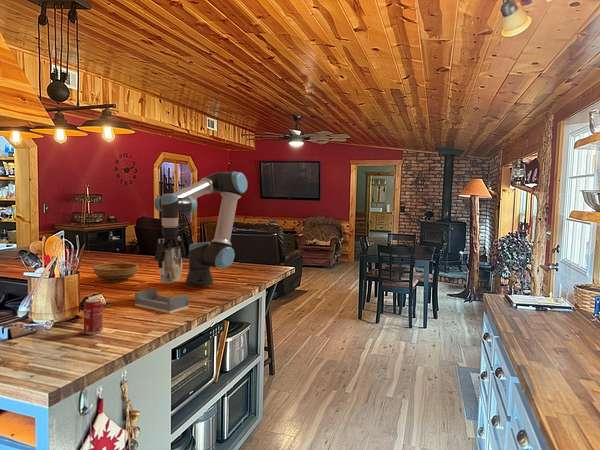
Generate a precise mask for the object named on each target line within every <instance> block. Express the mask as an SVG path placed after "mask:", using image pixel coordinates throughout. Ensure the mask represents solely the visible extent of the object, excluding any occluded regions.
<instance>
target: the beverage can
mask: <svg viewBox="0 0 600 450" xmlns="http://www.w3.org/2000/svg"><path fill="white" fill-rule="evenodd" d="M103 329H104V303H103V301H102V300H101V298H88V299H85V302H84V304H83V332H85V333H86V334H87V335H96V334H100V333H101V331H103Z"/></svg>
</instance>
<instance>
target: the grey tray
mask: <svg viewBox="0 0 600 450" xmlns="http://www.w3.org/2000/svg"><path fill="white" fill-rule="evenodd" d="M189 296H190V295H189V294H188V293H187V294H186V293H185V294H183V295H182V294H181V295H179V296H175V297H173V296H168V295H163V294H158V291H157V287H156V288H155V287H153V288H149V289H144V290H140V291H136V292H134V306H135V307H140V308H144V309H148V310H149V309H150V310H153V311H158V312H162V313H166V314H173V313H176V312H179V311H180V312H181V311H183V310H187V309H189V306H190V302H189V301H190V300H189V298H190V297H189Z"/></svg>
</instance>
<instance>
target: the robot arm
mask: <svg viewBox="0 0 600 450" xmlns="http://www.w3.org/2000/svg"><path fill="white" fill-rule="evenodd" d="M247 190H248V180H247V177H246V176H245V174H244V173H242V172H241V171H239V172H238V171H219V172H214V173H211V174H209V175H206V176H204V177H202V178H200V180H199V181H197V182H195V183H193V184H191V185H188V186H186V187H185V188H182V189H180V190H178V191H174V192H173V193H163V194H162V195H161V196H158V197H155V199H154V203H153V207H154V209H155V210H156V211H158V212H161V226H162V227H161V235H162V238H157V240H156V242H157V244H156V249H155V254H154V261H157V263H158V264H157V265H158V269H159V271H158V272H159V273H158V274H159V275H160V276H161V275H165V265H164V261H163V259H164V257H165V250H164V251H162V248H164V249H167V248H169V247H170V246H175V247H178V246H181V272H183V262H184V258H185V256H186V255H187V251H186V249H185V244H184V240H183V238H184V237H183V236H181V235H179V234H180V233H179V227H178V226H179V214H186V213H187V214H188V213H189V214H190V213H194V212H195V211H196V210H197V207H198V201H197V200H196V199H198V198H200V197H202V196H204V195H210V194H214V193H220V195H221V197H222V198H221V203H220V208H219V213H218V217H217V223H216V228H215V234H214V238H213V239H212V240H211V241H205V242H204V241H203V242H197V243H196V242H194V243H191V244H190V245H188V247H189V248H188V271H187V276H186V278H185V284H186V285H188V286H192V287H193V286H194V287H203V286H204V287H205V286H210V285H213V284H214V279H213V275H212V271H211V268H218V269H227V268H228V267H230V266H231V265H232V264H233V262H234V259H235V256H236V255H235V254H236V253H235V250H234V248H233V247H232V246H233V245H232V242H231V237H232V231H233V225H234V223H235V222H234V221H235V218H236V217H235V216H236V212H237V211H236V210H237V205H238V200H239V199H241V198H242V194H243V193H246V191H247ZM178 235H179V236H178Z"/></svg>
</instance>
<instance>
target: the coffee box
mask: <svg viewBox="0 0 600 450" xmlns="http://www.w3.org/2000/svg"><path fill="white" fill-rule="evenodd" d="M164 250H165V257H164V259H163V261H164V265H165V275H160V283H172V284H173V283H174V282H176V281H179V280H181V279H182V271H181V246H178V247H175V246H170V247H169V248H167V249H164V248H162V251H164Z"/></svg>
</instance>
